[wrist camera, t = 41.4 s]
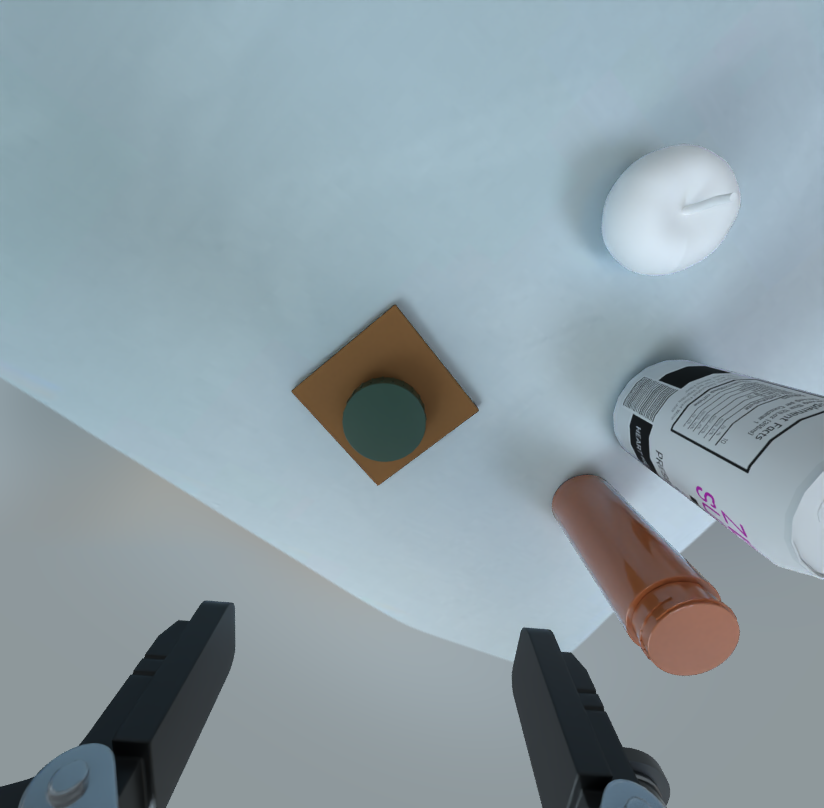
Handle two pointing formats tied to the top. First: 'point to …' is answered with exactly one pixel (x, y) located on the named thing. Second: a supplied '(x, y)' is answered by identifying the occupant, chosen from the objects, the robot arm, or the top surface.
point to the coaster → (390, 357)
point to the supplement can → (734, 453)
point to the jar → (646, 579)
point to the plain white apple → (670, 210)
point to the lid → (384, 419)
